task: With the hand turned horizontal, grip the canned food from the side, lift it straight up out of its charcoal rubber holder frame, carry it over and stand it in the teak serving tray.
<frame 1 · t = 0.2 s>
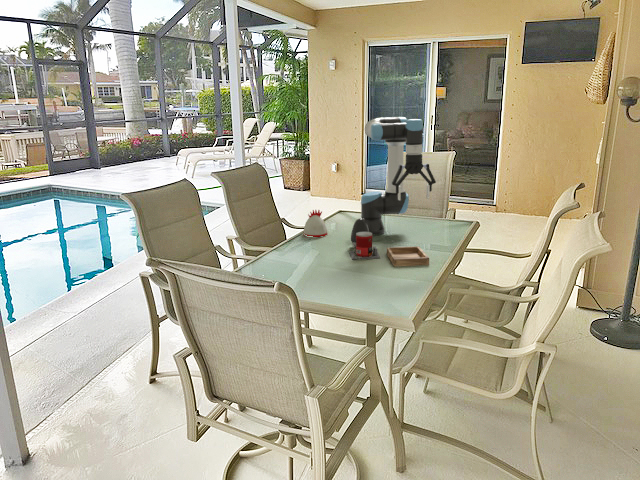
hand: (413, 199, 231), 28 cm above the table, tool pointing down, fingers open, 13 cm apart
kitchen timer: (315, 235, 284), on the table
holder: (364, 255, 241), on the table
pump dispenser: (360, 247, 256), on the table
canned food: (364, 255, 241), resting in holder
tray: (407, 259, 232), on the table
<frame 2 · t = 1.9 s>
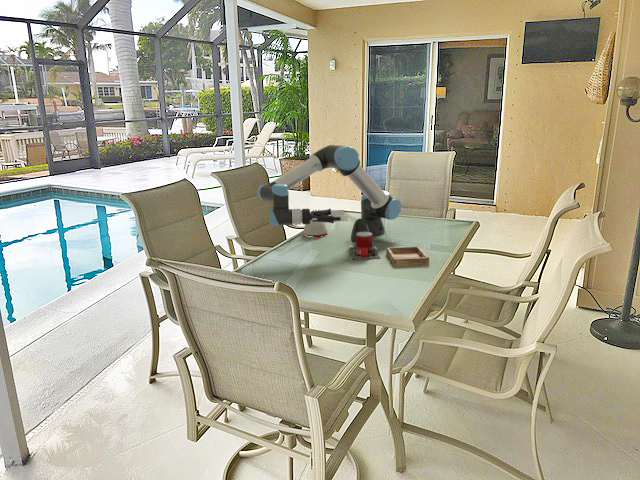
hand: (345, 215, 235), 20 cm above the table, tool horizontal, fingers open, 13 cm apart
nothing on the table moved.
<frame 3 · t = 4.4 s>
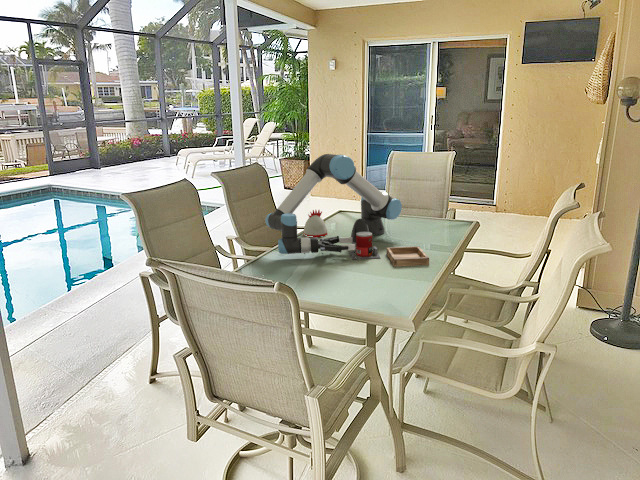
hand: (353, 243, 239), 6 cm above the table, tool horizontal, fingers open, 13 cm apart
nothing on the table moved.
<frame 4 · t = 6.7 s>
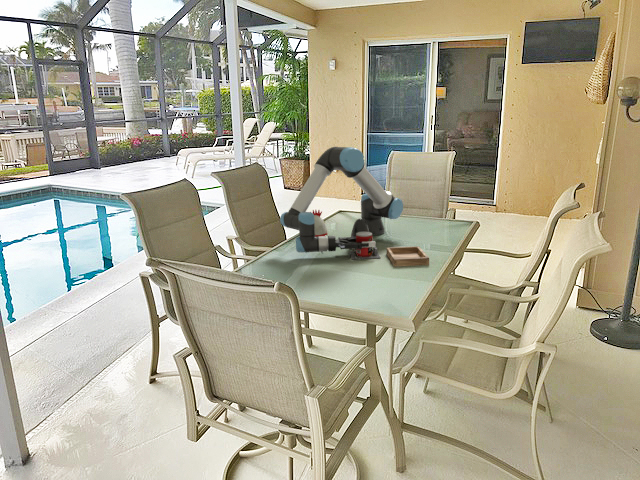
hand: (374, 241, 240), 7 cm above the table, tool horizontal, fingers closed on canned food, 8 cm apart
canned food: (364, 255, 241), resting in holder, touching gripper
everything else where it was.
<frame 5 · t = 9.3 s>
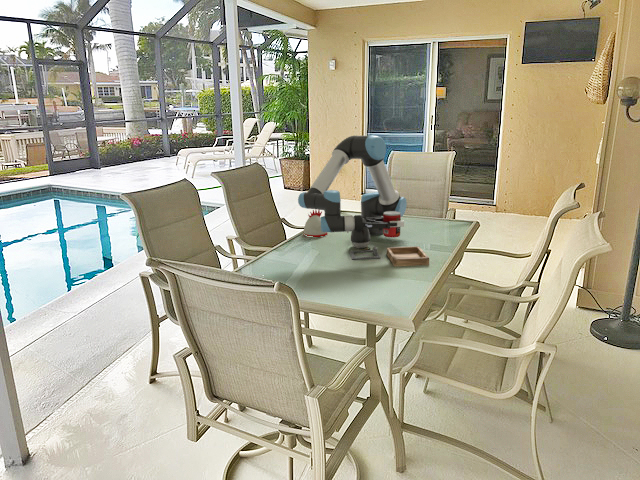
hand: (402, 221, 229), 18 cm above the table, tool horizontal, fingers closed on canned food, 8 cm apart
canned food: (391, 236, 231), point 11 cm above the table, touching gripper
everything else where it was.
when the fingers open (9 cm above the table, at t = 11.9 s): canned food drops 2 cm, resting on tray.
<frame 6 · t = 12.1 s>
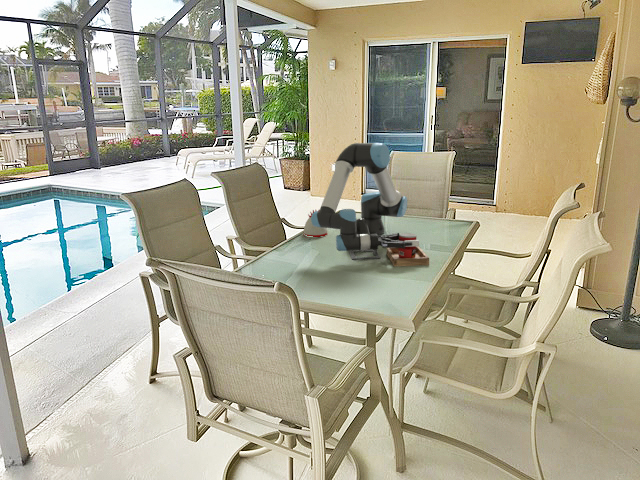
hand: (416, 239, 230), 9 cm above the table, tool horizontal, fingers open, 10 cm apart
canned food: (406, 257, 232), point 1 cm above the table, touching tray
everything else where it was.
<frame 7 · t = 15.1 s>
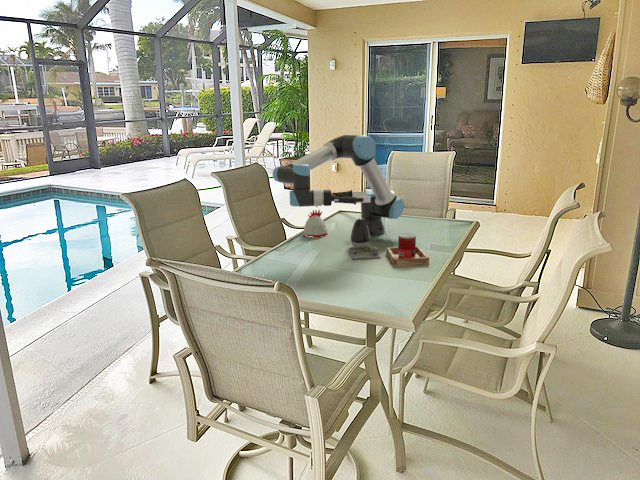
hand: (368, 196, 229), 30 cm above the table, tool horizontal, fingers open, 13 cm apart
nothing on the table moved.
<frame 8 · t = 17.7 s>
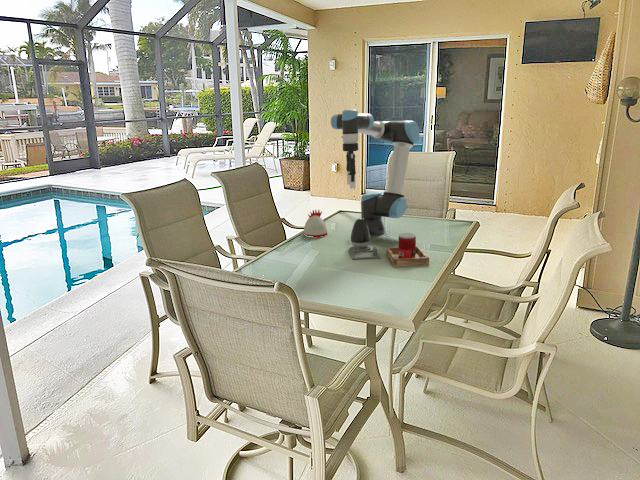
hand: (351, 186, 242), 33 cm above the table, tool pointing down, fingers open, 13 cm apart
nothing on the table moved.
at the end: canned food inside the target area on the tray (0.1 cm from its centre), point 0.6 cm above the tray's base; canned food tilted 0°; the gripper is holding nothing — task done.
